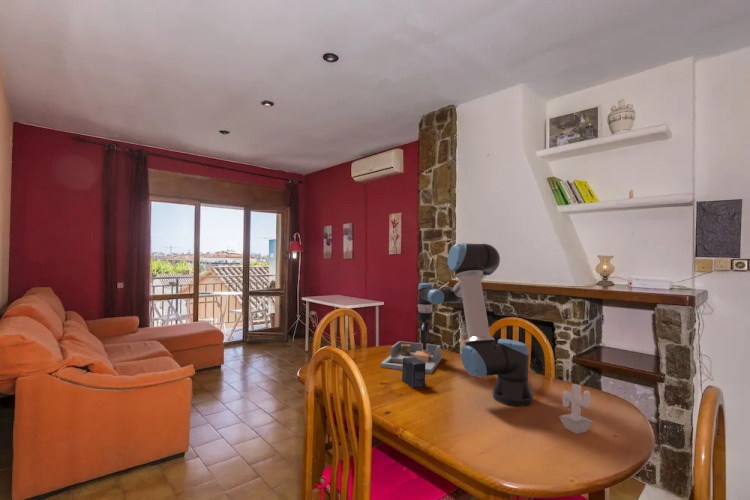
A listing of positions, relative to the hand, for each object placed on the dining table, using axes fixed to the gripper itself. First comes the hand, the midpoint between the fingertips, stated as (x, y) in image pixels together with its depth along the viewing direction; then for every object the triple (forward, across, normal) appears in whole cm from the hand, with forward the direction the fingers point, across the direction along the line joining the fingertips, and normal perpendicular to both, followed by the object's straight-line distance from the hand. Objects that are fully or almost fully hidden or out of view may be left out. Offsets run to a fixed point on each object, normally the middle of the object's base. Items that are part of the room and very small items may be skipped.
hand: (424, 355), depth 200 cm
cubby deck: (+3, +6, -5) cm, 8 cm away
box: (+3, +36, +4) cm, 36 cm away
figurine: (+3, +57, +65) cm, 86 cm away
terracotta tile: (+1, +5, 0) cm, 5 cm away
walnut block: (+1, -1, -11) cm, 11 cm away
